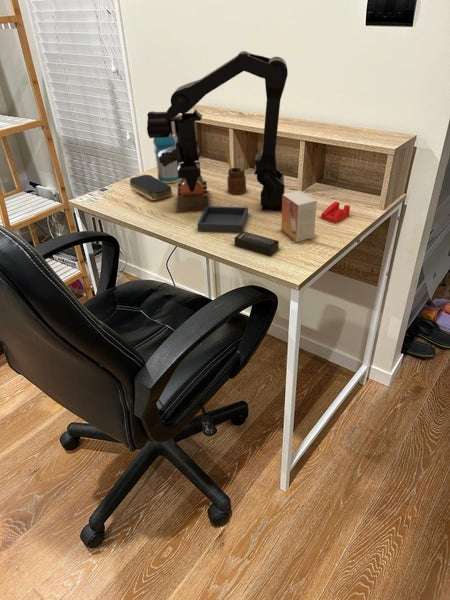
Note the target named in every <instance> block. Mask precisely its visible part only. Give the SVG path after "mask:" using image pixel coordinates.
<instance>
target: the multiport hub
mask: <svg viewBox="0 0 450 600" xmlns="http://www.w3.org/2000/svg"><path fill="white" fill-rule="evenodd" d="M233 239H234V246H235V247H237V248H240V249H244V250H247V251H251V252H254V253H257V254H261V255H264V256H267V257H271V256H273V255H274V254H275V253H276V252H277V251H279V246H280V241H279V240H278V239H277V240H276V239H273V238H269V237H266V236H262V235H259V234H255V233H252V232H248V231H244V230H243V232H241V233H238V234H237V235H235V236H234V238H233Z"/></svg>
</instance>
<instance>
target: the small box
mask: <svg viewBox="0 0 450 600" xmlns="http://www.w3.org/2000/svg"><path fill="white" fill-rule="evenodd" d="M317 203H318V201H317V200H316V199H314V198H312V196H310V195H308V194H306V193H305V192H303V191H302V190H295V191H291V192H286V193H285V194H283V195H282V211H281V222H280V223H281V224H280V226H281V227H280V229H281V231H282V232H283V233H284V234H286V235H287V236H288V237H290V238H291V239H292V240H293V241H294V242H295V243H299V242H302V241H306V240H310V239H313V238H314V237H315V231H316V230H315V229H316V218H317V217H316V215H317V205H318V204H317Z"/></svg>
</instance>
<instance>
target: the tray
mask: <svg viewBox="0 0 450 600" xmlns="http://www.w3.org/2000/svg"><path fill="white" fill-rule="evenodd" d="M248 216H249V207H248V206H247V207H246V206H245V207H244V206H243V207H242V206H211V205H210V206H206V208H205V210H204V211H202V214H201V216H200V218H199V220H198V222H197V232H199V233H200V232H203V233H227V234H228V233H229V234H240V233H241V232H243V231H244V229H245V227H246V223H247V220H248Z"/></svg>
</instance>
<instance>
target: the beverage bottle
mask: <svg viewBox="0 0 450 600" xmlns="http://www.w3.org/2000/svg"><path fill="white" fill-rule="evenodd" d="M152 140H153V141H152V144H153V146H154V147H153V153H154V155H155V162H156V170H157V179H158V180H160V181H162V182H164V183H165V184H174V183H179V182H180V181H181V178H178V166H179V165H180V163H178V162H177V160H176V161H175V162H172V163H170V164H168V165H167V166H165V167H163V165H162V164H161V163H160V160H159V158H158V154H159V152H161V151H163V150H165V149H167V148H169V147H171V146H174V145H176V140H177V139H176V133H175V132H174V133H173V134H171V136H170V138H152Z"/></svg>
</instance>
